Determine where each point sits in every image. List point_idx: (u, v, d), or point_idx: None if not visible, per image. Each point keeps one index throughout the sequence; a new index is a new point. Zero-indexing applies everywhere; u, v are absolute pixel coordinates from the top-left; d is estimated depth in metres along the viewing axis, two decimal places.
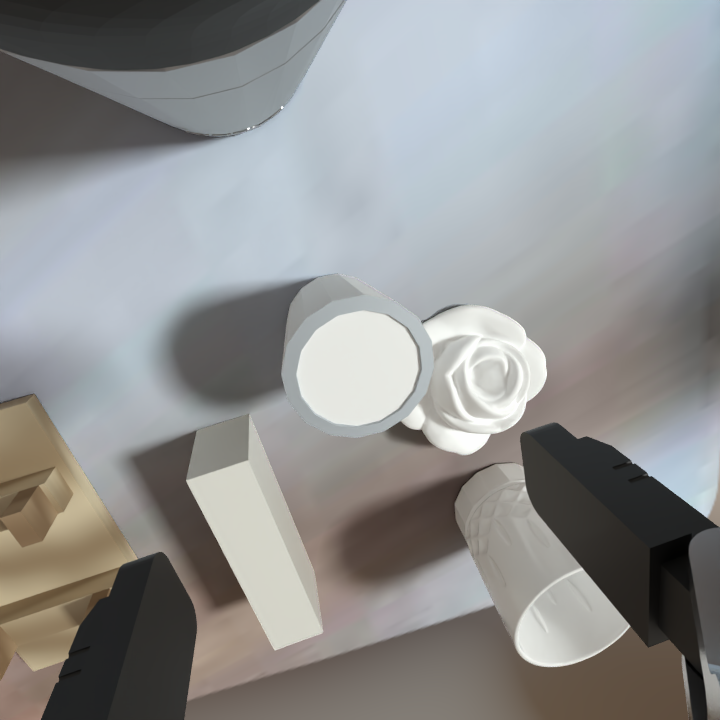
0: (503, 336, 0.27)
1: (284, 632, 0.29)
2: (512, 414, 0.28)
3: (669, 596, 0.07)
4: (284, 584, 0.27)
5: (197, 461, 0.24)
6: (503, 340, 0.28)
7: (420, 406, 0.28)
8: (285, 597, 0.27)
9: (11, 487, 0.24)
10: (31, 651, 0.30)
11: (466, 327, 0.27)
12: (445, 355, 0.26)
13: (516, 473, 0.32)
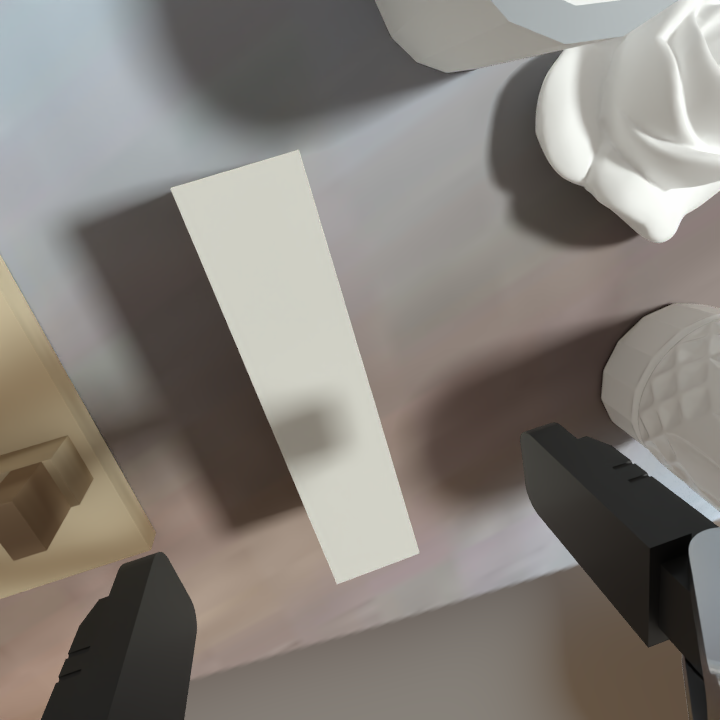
0: None
1: (355, 549, 0.16)
2: None
3: (669, 596, 0.07)
4: (359, 454, 0.15)
5: None
6: None
7: (586, 134, 0.16)
8: (359, 479, 0.15)
9: None
10: None
11: None
12: None
13: (715, 310, 0.20)
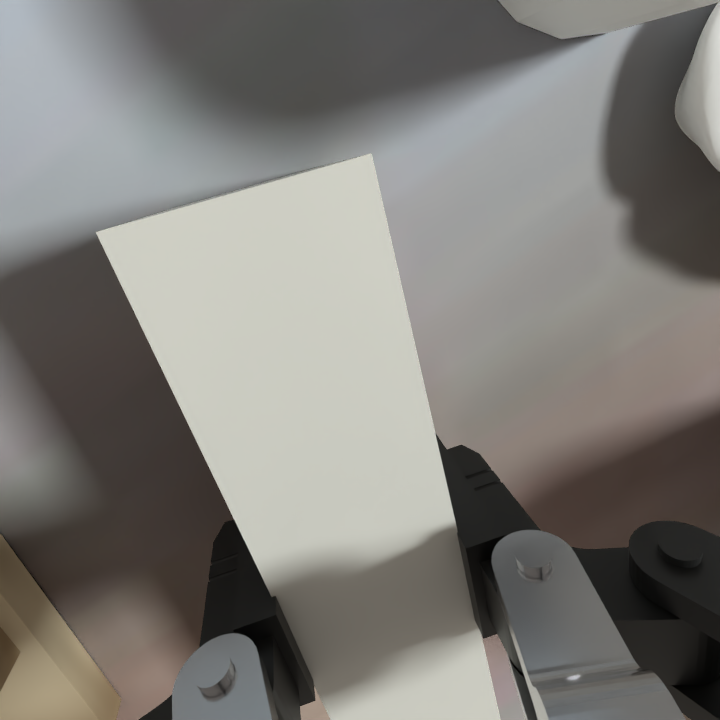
0: None
1: None
2: None
3: (488, 592, 0.08)
4: (437, 665, 0.09)
5: (159, 213, 0.06)
6: None
7: None
8: (433, 701, 0.09)
9: None
10: None
11: None
12: None
13: None
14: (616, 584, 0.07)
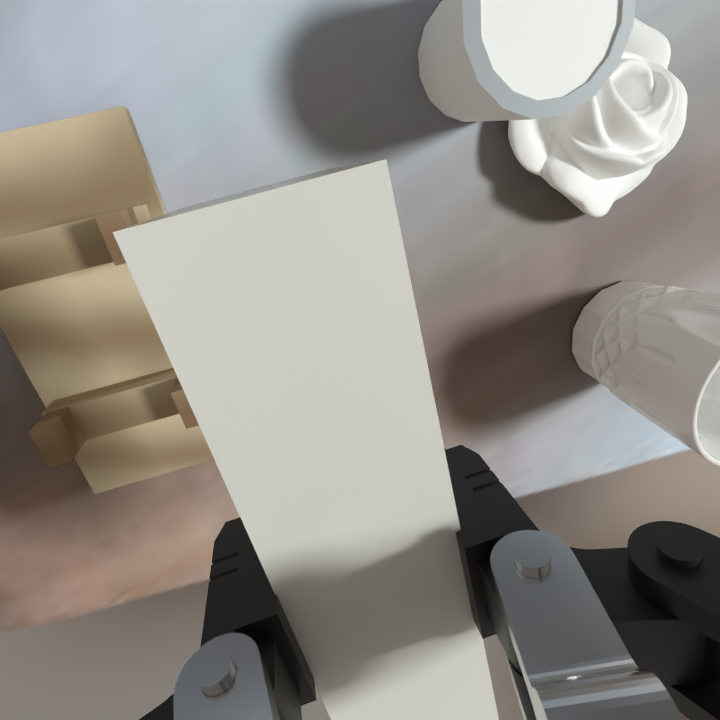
0: (644, 53, 0.23)
1: None
2: (654, 148, 0.23)
3: (486, 592, 0.08)
4: (438, 666, 0.09)
5: (173, 213, 0.06)
6: None
7: (542, 140, 0.23)
8: (433, 702, 0.09)
9: None
10: (94, 465, 0.26)
11: None
12: None
13: (650, 284, 0.28)
14: (615, 584, 0.07)
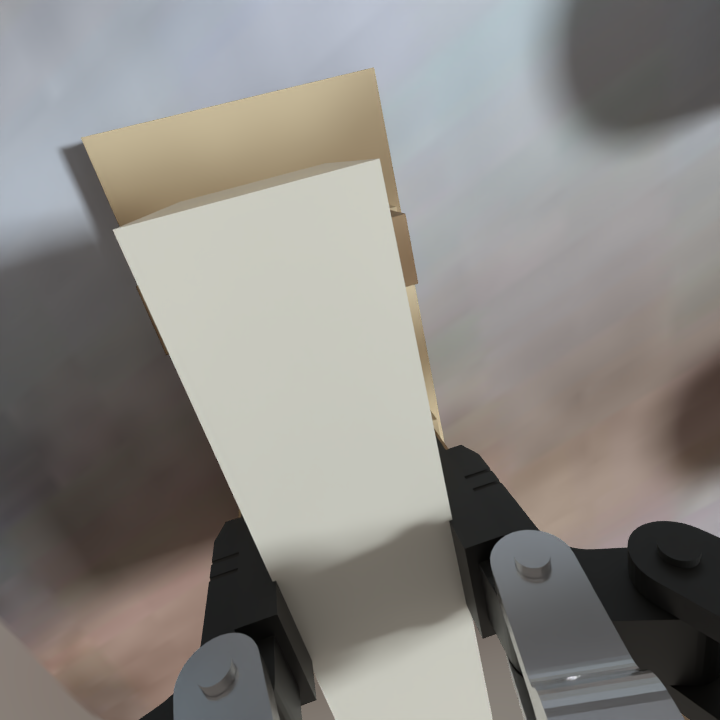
0: None
1: None
2: None
3: (487, 592, 0.08)
4: (430, 649, 0.09)
5: (171, 210, 0.07)
6: None
7: None
8: (425, 683, 0.10)
9: None
10: None
11: None
12: None
13: None
14: (615, 584, 0.07)
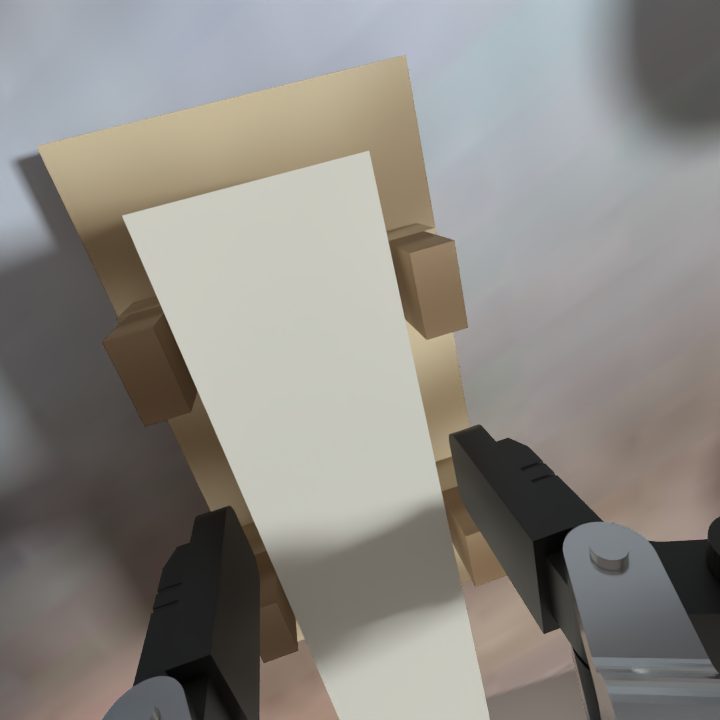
0: None
1: None
2: None
3: (553, 585, 0.07)
4: (423, 631, 0.09)
5: None
6: None
7: None
8: (420, 666, 0.10)
9: None
10: None
11: None
12: None
13: None
14: (694, 577, 0.06)
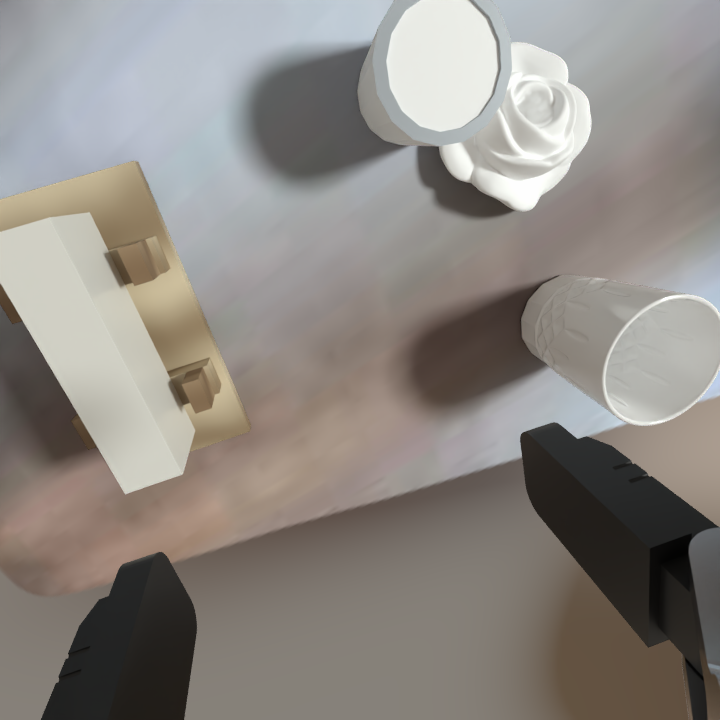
0: (545, 73, 0.28)
1: (133, 469, 0.25)
2: (561, 151, 0.28)
3: (669, 596, 0.07)
4: (123, 401, 0.23)
5: None
6: None
7: (468, 154, 0.28)
8: (126, 419, 0.24)
9: (117, 247, 0.26)
10: None
11: None
12: None
13: (582, 277, 0.33)
14: None
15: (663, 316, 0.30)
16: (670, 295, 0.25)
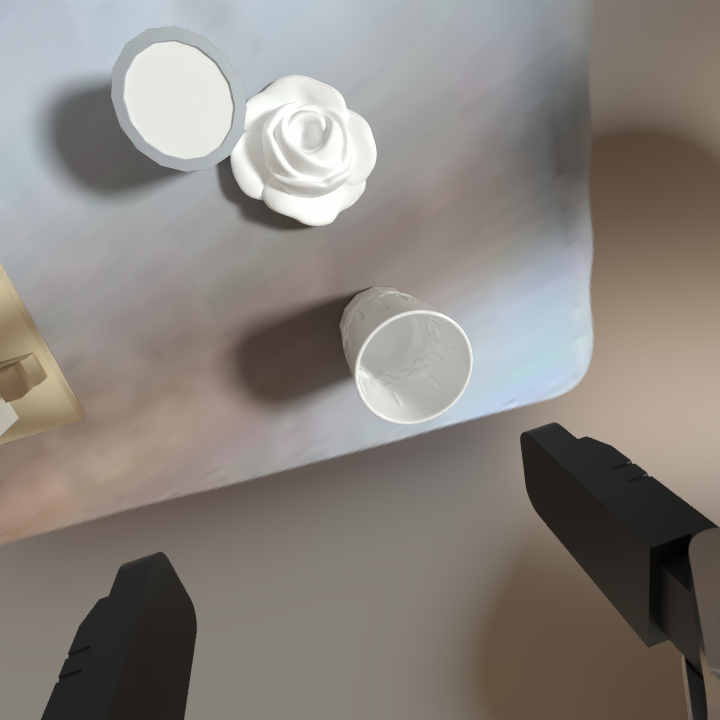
0: (324, 102, 0.31)
1: None
2: (338, 173, 0.31)
3: (669, 596, 0.07)
4: None
5: None
6: None
7: (257, 175, 0.31)
8: None
9: None
10: None
11: (290, 98, 0.31)
12: (268, 117, 0.30)
13: (388, 289, 0.36)
14: None
15: (440, 328, 0.33)
16: (409, 310, 0.28)
